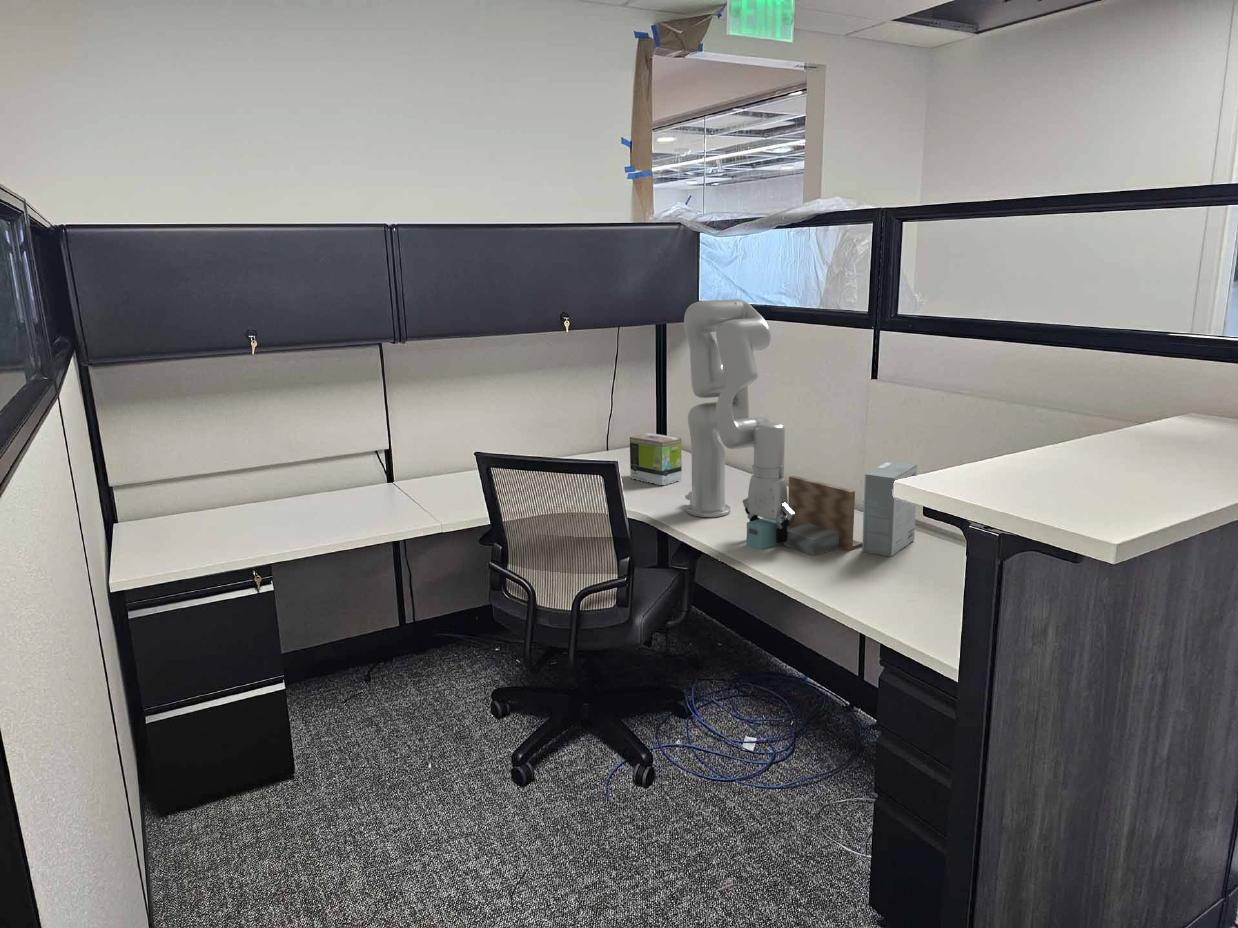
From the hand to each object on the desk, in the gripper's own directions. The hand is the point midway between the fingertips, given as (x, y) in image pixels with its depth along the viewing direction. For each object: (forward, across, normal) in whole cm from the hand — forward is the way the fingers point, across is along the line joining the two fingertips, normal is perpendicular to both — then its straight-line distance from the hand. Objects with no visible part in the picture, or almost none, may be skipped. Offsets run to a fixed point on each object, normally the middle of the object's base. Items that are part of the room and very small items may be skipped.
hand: (767, 537), depth 209 cm
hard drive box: (+2, +21, +21) cm, 30 cm away
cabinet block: (+2, 0, 0) cm, 2 cm away
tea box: (+1, -68, +18) cm, 71 cm away
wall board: (+1, +7, +9) cm, 11 cm away
